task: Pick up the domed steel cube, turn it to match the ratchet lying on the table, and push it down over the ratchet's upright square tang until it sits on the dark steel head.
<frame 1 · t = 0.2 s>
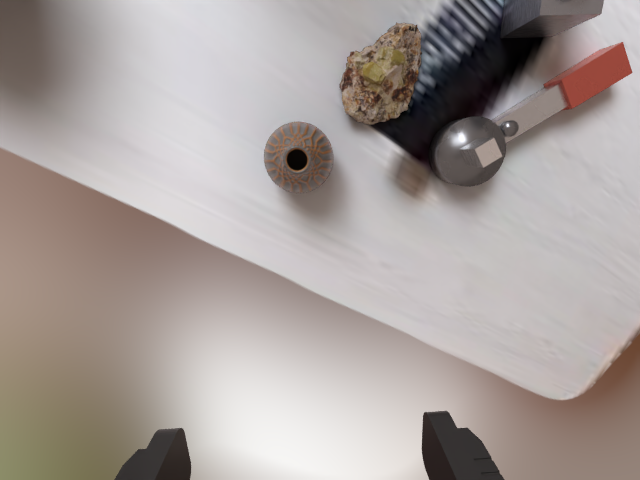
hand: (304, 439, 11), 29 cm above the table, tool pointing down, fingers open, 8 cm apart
ratchet: (459, 152, 37), on the table
mineral rock: (381, 78, 35), on the table
domed steel cube: (529, 7, 33), on the table
vase: (299, 157, 37), on the table
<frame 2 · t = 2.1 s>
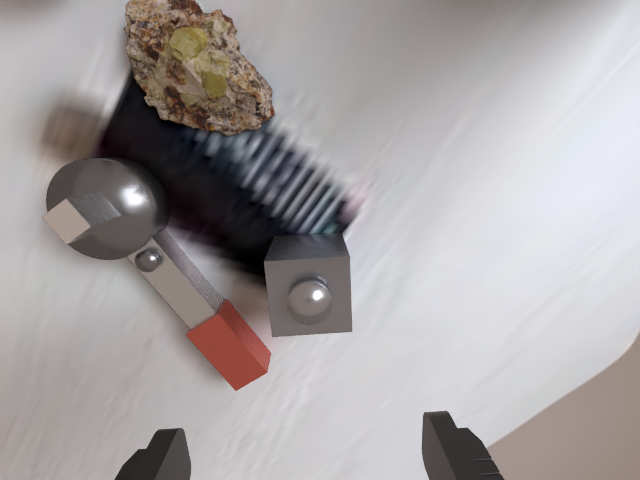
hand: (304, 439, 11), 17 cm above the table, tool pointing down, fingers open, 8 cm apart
ratchet: (123, 204, 25), on the table
mineral rock: (207, 79, 23), on the table
domed steel cube: (309, 265, 27), on the table
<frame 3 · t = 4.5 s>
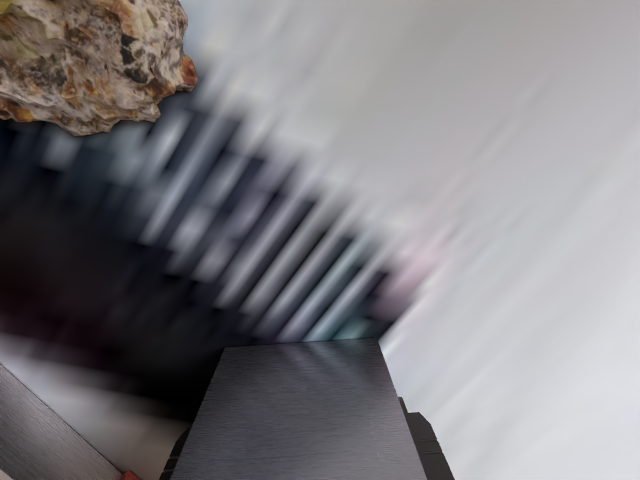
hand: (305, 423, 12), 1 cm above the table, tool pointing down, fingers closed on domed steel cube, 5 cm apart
domed steel cube: (305, 404, 12), on the table, touching gripper
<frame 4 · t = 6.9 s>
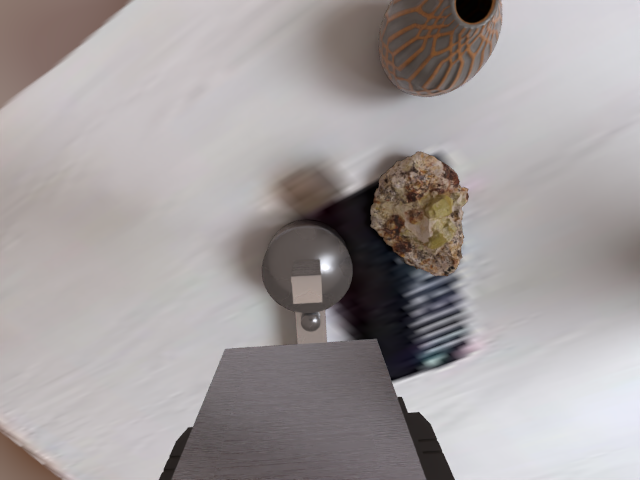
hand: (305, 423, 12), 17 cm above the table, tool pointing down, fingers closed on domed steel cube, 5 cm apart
ratchet: (307, 259, 28), on the table
mineral rock: (418, 215, 28), on the table
domed steel cube: (305, 406, 12), point 16 cm above the table, touching gripper
vase: (416, 53, 24), on the table
when the fingers open (4 cm above the table, at t = 9.8 s): domed steel cube stays where it is, resting on ratchet.
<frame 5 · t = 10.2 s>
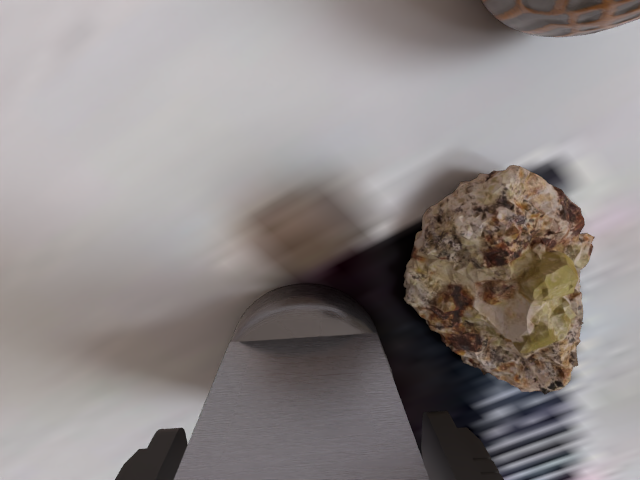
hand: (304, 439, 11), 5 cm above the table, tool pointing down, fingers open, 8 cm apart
ratchet: (306, 351, 16), on the table
mineral rock: (487, 278, 15), on the table
domed steel cube: (307, 398, 13), point 3 cm above the table, touching ratchet
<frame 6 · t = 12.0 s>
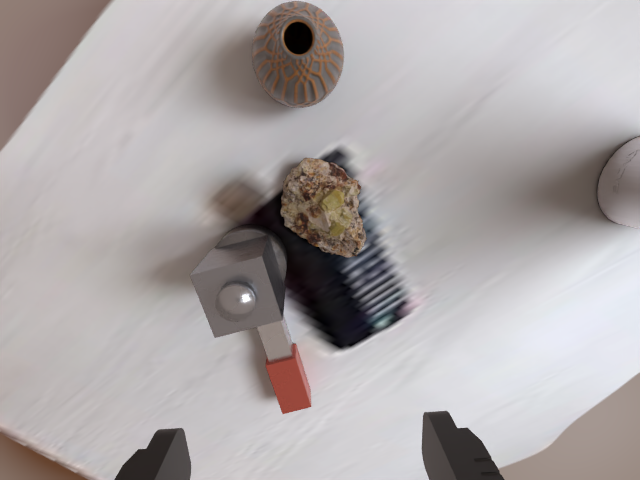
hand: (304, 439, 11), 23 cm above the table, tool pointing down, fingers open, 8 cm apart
ratchet: (252, 258, 33), on the table
mineral rock: (325, 209, 33), on the table
domed steel cube: (249, 268, 30), point 3 cm above the table, touching ratchet
vase: (298, 69, 29), on the table
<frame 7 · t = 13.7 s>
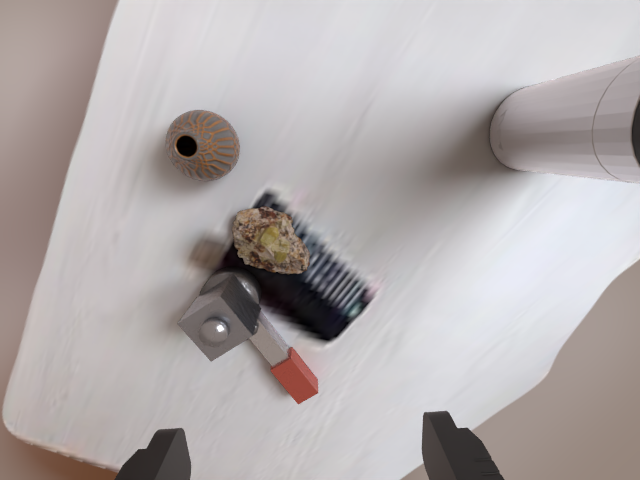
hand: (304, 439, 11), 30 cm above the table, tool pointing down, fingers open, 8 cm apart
ratchet: (234, 292, 42), on the table
mineral rock: (272, 241, 41), on the table
domed steel cube: (229, 302, 39), point 3 cm above the table, touching ratchet
vase: (214, 146, 37), on the table
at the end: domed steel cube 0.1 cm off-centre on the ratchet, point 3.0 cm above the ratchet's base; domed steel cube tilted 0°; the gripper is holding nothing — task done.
